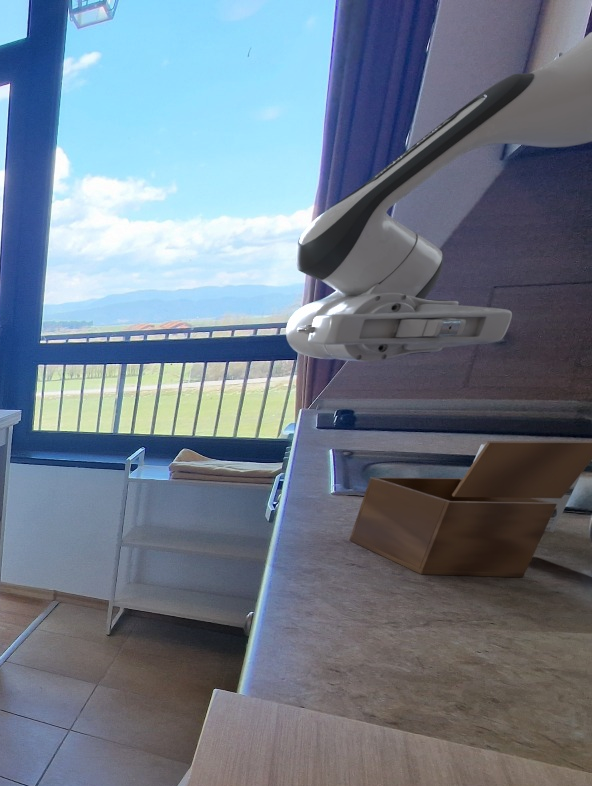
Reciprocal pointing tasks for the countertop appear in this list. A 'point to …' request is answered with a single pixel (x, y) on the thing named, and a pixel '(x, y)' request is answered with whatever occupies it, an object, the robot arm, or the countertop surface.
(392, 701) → the countertop surface
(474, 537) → the carton
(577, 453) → the flap
